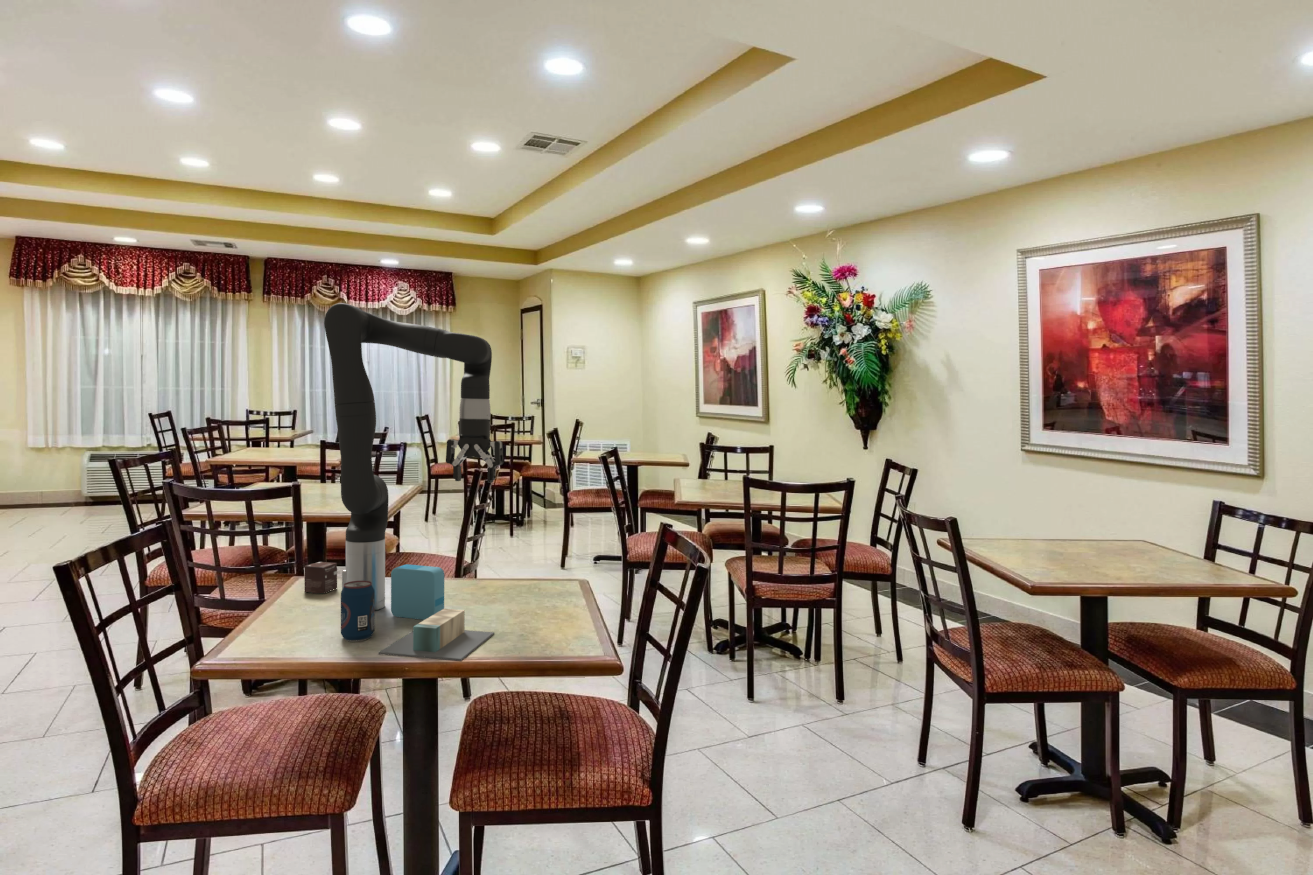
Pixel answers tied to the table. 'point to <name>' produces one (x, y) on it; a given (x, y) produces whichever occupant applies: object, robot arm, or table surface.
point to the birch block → (438, 630)
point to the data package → (417, 591)
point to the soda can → (357, 610)
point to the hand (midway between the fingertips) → (474, 481)
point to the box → (320, 577)
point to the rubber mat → (449, 652)
